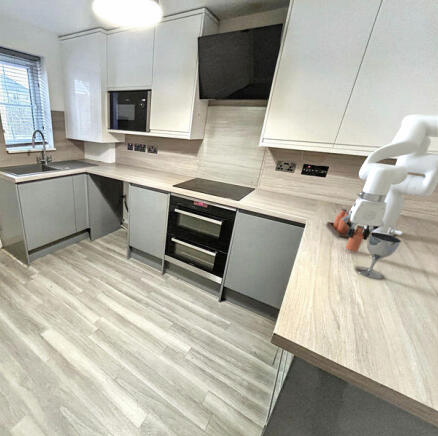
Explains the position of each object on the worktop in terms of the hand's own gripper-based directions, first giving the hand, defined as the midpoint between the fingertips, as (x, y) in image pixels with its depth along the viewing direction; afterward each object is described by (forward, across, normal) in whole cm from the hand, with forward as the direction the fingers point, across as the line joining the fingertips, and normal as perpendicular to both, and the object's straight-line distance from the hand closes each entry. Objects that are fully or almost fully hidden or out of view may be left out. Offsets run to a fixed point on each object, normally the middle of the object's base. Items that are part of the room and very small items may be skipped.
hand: (356, 237), depth 102 cm
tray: (+8, +4, +24) cm, 26 cm away
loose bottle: (+6, 0, 0) cm, 6 cm away
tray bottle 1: (+7, +4, +30) cm, 31 cm away
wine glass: (+7, 0, -18) cm, 20 cm away
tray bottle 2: (+7, +4, +24) cm, 26 cm away
